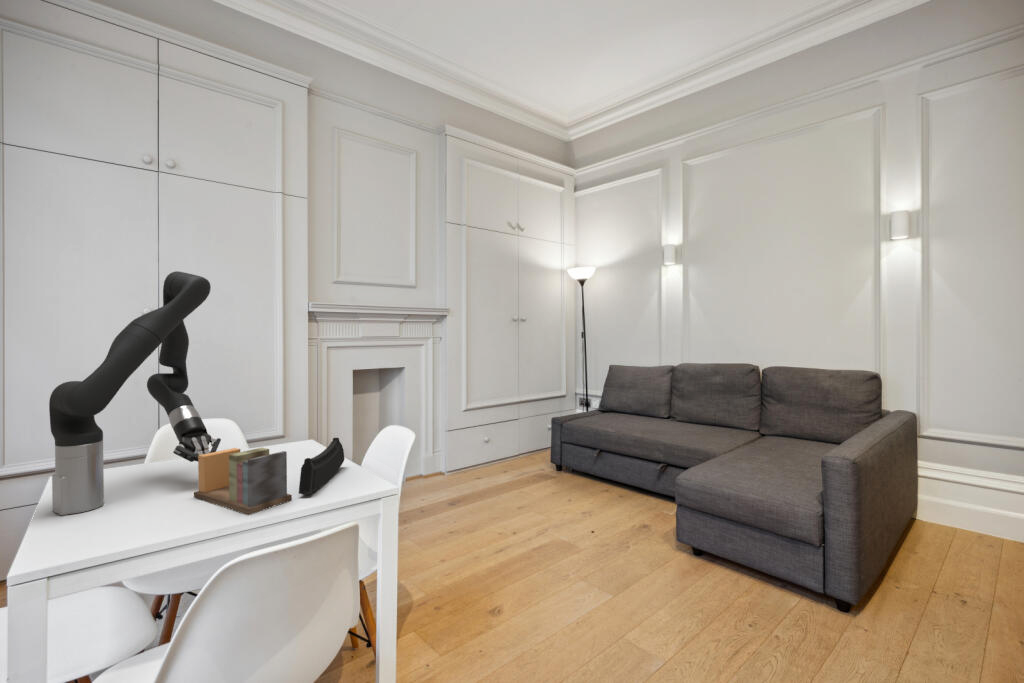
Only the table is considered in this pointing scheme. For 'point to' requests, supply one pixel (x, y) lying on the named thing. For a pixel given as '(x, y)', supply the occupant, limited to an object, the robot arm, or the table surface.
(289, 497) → the book row
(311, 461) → the magazine
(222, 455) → the loose bookend
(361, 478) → the table surface
